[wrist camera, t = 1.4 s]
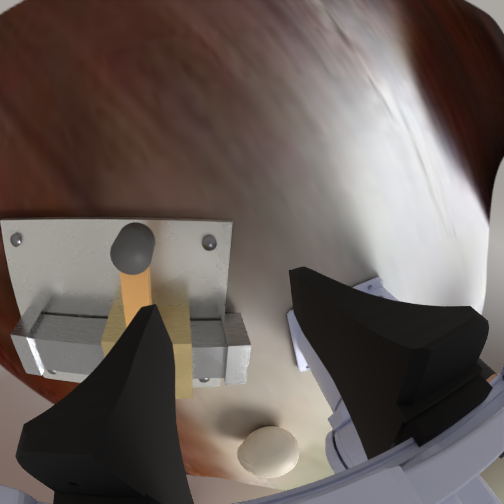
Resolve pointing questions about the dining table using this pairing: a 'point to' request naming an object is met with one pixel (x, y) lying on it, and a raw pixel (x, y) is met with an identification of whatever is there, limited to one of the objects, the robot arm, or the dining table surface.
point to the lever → (134, 266)
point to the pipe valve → (110, 330)
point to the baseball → (269, 452)
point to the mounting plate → (108, 276)
